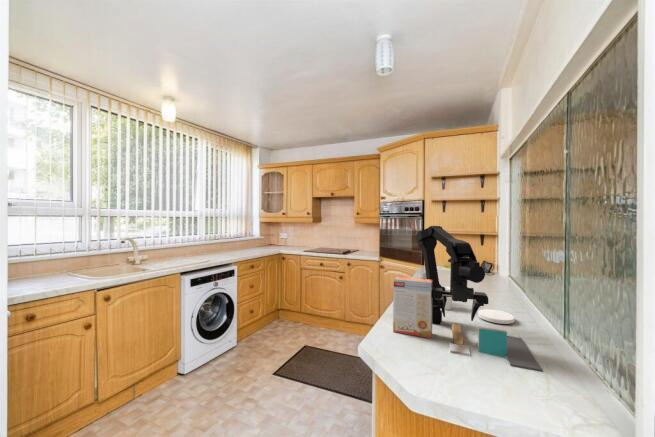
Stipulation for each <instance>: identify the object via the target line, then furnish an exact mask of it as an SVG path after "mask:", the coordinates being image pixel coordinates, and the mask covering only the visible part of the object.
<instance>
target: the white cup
mask: <svg viewBox="0 0 655 437" xmlns="http://www.w3.org/2000/svg"><path fill="white" fill-rule="evenodd" d="M441 286H442V287H444V288H445V291H447V292H450V286H446V285H441ZM452 309H453V300H452V297H447V301H446V305H445V311H450V310H451V311H452Z"/></svg>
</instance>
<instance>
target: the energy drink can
mask: <svg viewBox="0 0 655 437" xmlns="http://www.w3.org/2000/svg"><path fill="white" fill-rule="evenodd" d="M418 278H419V279H427V278H426V271H420V272H419V274H418Z"/></svg>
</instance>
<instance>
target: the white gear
mask: <svg viewBox="0 0 655 437" xmlns="http://www.w3.org/2000/svg"><path fill="white" fill-rule="evenodd" d="M477 316H478V317H479V318H480V319H482V320H484V321H487V322H490V323H494V324H500V325H501V324H503V325H509V324H510V325H511V324H514V323H515V320H516V319H515V315H512V314H511V313H509V312H506V311H502V310H497V309H490V308H486V309H485V308H484V309H478V310H477Z"/></svg>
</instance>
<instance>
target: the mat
mask: <svg viewBox="0 0 655 437" xmlns="http://www.w3.org/2000/svg"><path fill="white" fill-rule="evenodd" d="M506 359H507V361H508V363H509V365H510V366H511V367H514V368H520V369H527V370H530V371H531V370H533V371H538V372H543V368H542V367H541V365H540V363H539V362H538V361H537V360H536V358H535V356H534V355H533V353H532V352H531V351H530V349H529V347H528V346H527V344H526V343H525V341H523V339H522V337H520V336H519V337H517V336H510V335H507V357H506Z"/></svg>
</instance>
